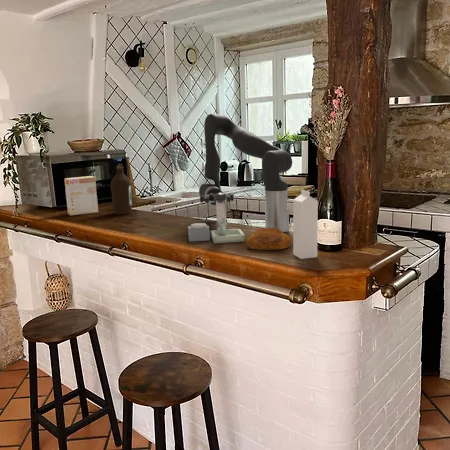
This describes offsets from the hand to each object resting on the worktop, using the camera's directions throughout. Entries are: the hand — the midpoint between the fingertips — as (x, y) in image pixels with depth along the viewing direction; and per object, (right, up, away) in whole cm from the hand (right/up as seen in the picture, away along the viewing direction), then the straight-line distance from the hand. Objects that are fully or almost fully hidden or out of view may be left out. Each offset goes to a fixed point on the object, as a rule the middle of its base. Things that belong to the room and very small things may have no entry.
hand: (218, 200), depth 191 cm
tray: (+4, -16, -7) cm, 18 cm away
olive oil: (-52, -4, +58) cm, 78 cm away
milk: (+30, -21, -35) cm, 50 cm away
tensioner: (-8, -15, -2) cm, 17 cm away
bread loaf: (+19, -18, -20) cm, 33 cm away
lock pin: (+2, -15, -8) cm, 17 cm away
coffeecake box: (-74, -4, +62) cm, 97 cm away
